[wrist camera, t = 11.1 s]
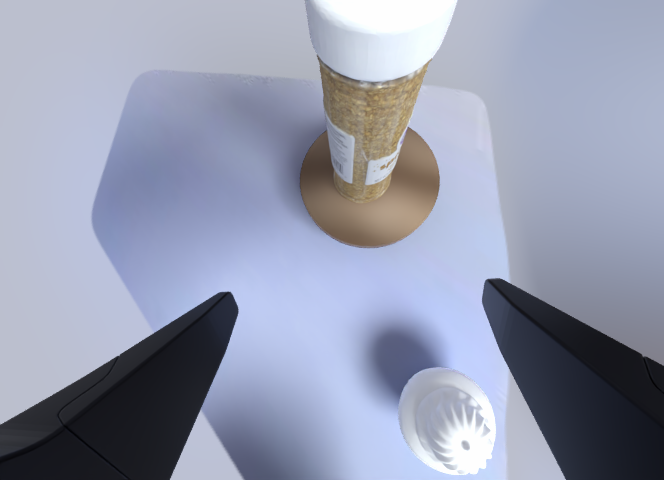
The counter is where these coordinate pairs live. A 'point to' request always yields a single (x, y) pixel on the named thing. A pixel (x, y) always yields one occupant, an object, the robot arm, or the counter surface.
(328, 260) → the counter surface
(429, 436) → the muffin
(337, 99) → the sprinkles bottle
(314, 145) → the walnut footstool
